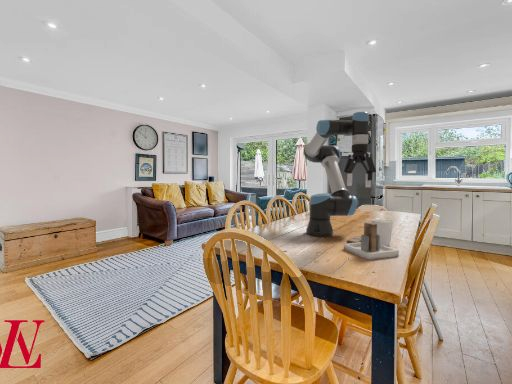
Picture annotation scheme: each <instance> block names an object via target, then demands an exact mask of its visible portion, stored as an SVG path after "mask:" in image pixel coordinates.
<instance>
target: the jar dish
mask: <svg viewBox="0 0 512 384" xmlns="http://www.w3.org/2000/svg"><path fill="white" fill-rule="evenodd" d="M360 237H361V242H358V243H348V244H347V243H343V250H344V251H347V252H350V253H352V254H353V255H356V256H358V257H361V258H363V259H365V260H367V261H371V260H379V259H388V258H394V257H399V256H400V255H399V254H400V253H399V252H400V250H398V249H396V248H394V247H393V248H392V247H390V246H384V245H381V244H380V235H377V240H376V251H372V252H371V251H369V236H366V235H364V234H361V235H360ZM387 257H388V258H387Z"/></svg>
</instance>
